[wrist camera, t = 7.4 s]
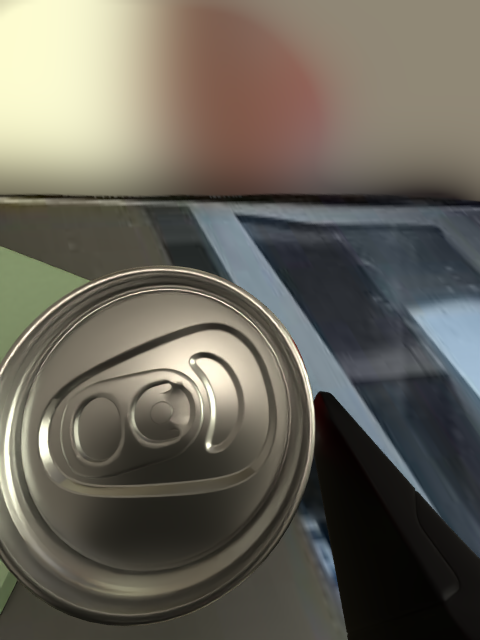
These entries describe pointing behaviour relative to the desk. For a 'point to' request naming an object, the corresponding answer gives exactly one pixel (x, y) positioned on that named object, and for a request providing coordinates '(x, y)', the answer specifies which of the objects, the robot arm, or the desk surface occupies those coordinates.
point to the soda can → (150, 445)
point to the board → (25, 321)
